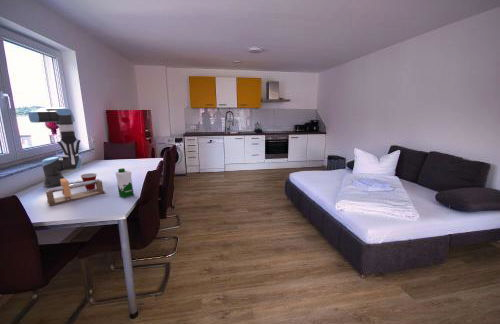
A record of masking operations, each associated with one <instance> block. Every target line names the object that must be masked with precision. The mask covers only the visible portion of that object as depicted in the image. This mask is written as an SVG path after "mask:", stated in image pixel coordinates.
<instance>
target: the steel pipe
mask: <svg viewBox="0 0 500 324" xmlns="http://www.w3.org/2000/svg"><path fill="white" fill-rule="evenodd" d="M99 180H100V179H99V178H97V179H96V180H91V181H86V182H83V181H82V182H77V183H72V184H70V183H69V187H70V190H71V189H76V188H82V187H85V186H87V185H92V184H95V185H96V184H97V182H99ZM48 190H49V191H53V193H57V192H62V190H64V189H63V186H61V185H59V186H54V187H49V188H48Z"/></svg>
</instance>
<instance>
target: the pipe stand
mask: <svg viewBox="0 0 500 324" xmlns="http://www.w3.org/2000/svg"><path fill="white" fill-rule="evenodd" d="M45 194H46V199H47V200H46V201H47V203H48V205H49V206H50V207H53V206H57V205H63V204H65V203H69V202H75V201H78V200H79V201H80V200H83V199H88V198H91V197H96V196H100V195H104V194H106V192H105V191H104V186H103V181H102V180H100V179H99V182H97V184H95V189H92V190H86V191H81V192H78V193H71V196H70V197H65V196H64V195H63V196H59V197H55V196H54V192H53V191H49V189H46V190H45Z"/></svg>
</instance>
